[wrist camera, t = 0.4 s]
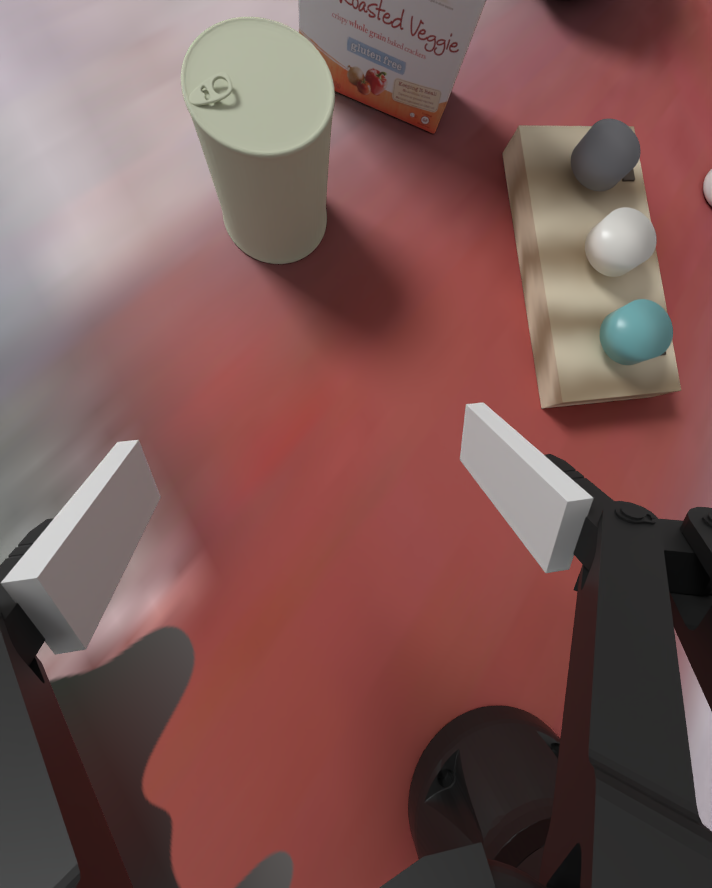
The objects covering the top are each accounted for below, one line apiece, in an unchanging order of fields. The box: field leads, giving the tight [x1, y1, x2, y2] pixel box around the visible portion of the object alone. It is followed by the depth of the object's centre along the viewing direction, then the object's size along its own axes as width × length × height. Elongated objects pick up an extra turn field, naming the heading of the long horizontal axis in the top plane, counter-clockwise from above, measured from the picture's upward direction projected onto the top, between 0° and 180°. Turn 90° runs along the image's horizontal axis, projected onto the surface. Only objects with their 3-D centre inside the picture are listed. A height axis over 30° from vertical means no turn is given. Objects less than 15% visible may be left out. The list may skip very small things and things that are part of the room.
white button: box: [585, 207, 656, 277], centre depth 32 cm, size 5×5×2 cm
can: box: [181, 17, 335, 264], centre depth 28 cm, size 9×9×12 cm
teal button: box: [600, 299, 673, 365], centre depth 32 cm, size 5×5×2 cm
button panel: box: [502, 126, 681, 409], centre depth 36 cm, size 26×12×3 cm, turn 7°
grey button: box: [571, 119, 640, 192], centre depth 33 cm, size 5×5×2 cm
